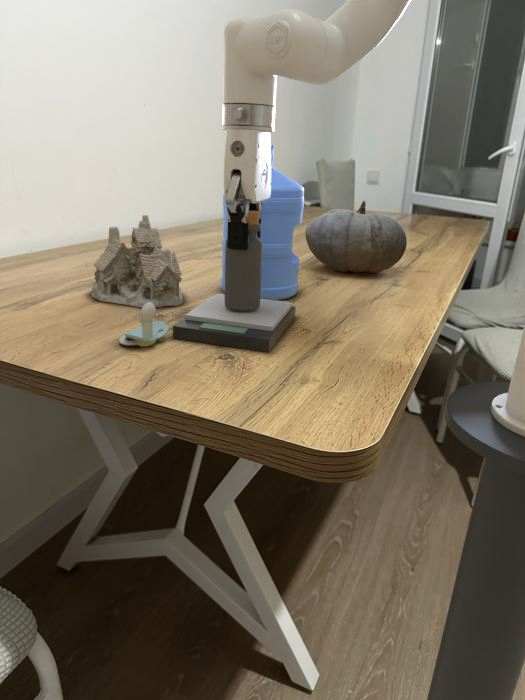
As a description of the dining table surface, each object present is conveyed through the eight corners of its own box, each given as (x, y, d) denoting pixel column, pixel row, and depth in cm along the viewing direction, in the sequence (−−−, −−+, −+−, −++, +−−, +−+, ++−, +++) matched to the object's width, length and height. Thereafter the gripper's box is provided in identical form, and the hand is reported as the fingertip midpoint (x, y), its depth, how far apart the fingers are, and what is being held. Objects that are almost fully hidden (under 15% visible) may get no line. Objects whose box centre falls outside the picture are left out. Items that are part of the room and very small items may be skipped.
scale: (294, 317, 91) (296, 302, 90) (268, 352, 75) (269, 334, 74) (214, 307, 94) (214, 292, 93) (172, 338, 78) (172, 320, 77)
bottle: (218, 307, 83) (219, 211, 77) (233, 298, 88) (235, 208, 83) (251, 312, 81) (255, 214, 76) (265, 303, 86) (269, 211, 81)
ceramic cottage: (88, 287, 102) (86, 210, 95) (171, 286, 108) (174, 213, 102) (96, 316, 88) (94, 228, 82) (190, 313, 95) (194, 231, 89)
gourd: (317, 269, 115) (328, 189, 112) (288, 264, 139) (296, 198, 136) (418, 281, 121) (431, 205, 118) (374, 274, 145) (383, 211, 142)
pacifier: (109, 346, 74) (144, 353, 72) (105, 304, 72) (141, 309, 70) (141, 332, 80) (173, 337, 78) (138, 293, 78) (171, 297, 76)
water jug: (245, 306, 96) (251, 143, 86) (207, 286, 108) (209, 142, 98) (312, 297, 104) (325, 147, 94) (270, 279, 116) (277, 145, 106)
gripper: (256, 116, 66) (251, 258, 72) (287, 124, 81) (280, 240, 88) (201, 115, 68) (201, 253, 74) (241, 122, 83) (238, 236, 90)
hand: (244, 244), depth 81 cm, fingers closed on bottle, 5 cm apart
